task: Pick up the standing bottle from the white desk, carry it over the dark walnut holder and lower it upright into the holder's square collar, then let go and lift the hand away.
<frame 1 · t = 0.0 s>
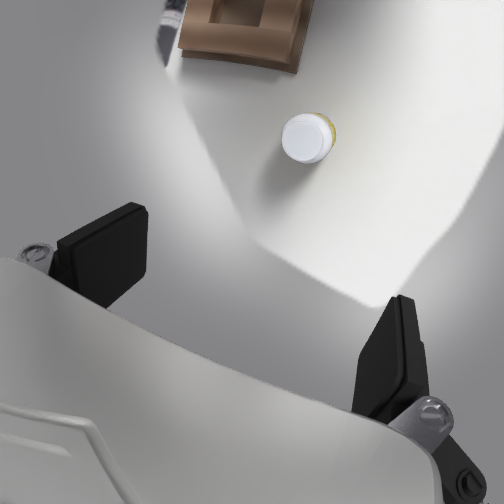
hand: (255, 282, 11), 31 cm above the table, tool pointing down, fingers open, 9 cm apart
bottle holder: (249, 9, 32), on the table
supplement bottle: (315, 133, 37), on the table
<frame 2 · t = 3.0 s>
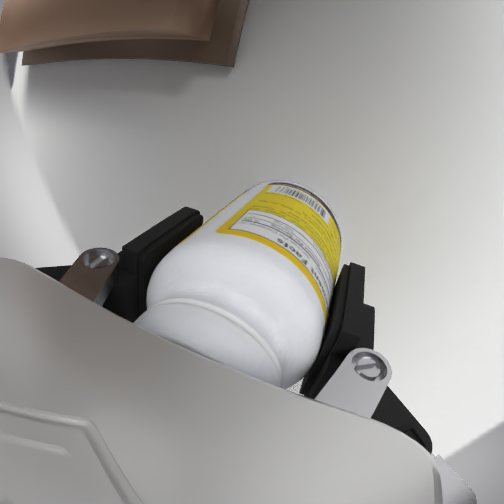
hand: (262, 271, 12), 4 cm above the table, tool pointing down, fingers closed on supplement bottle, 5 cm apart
supplement bottle: (286, 234, 15), on the table, touching gripper
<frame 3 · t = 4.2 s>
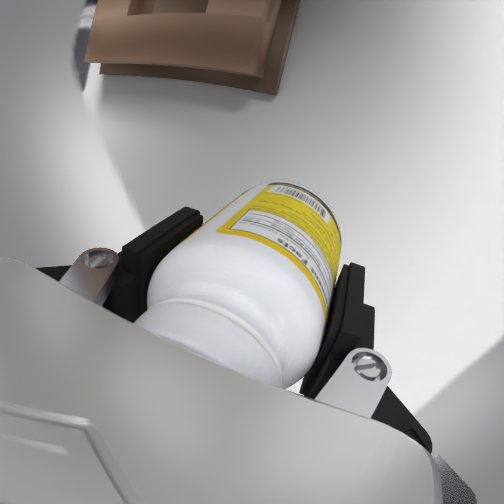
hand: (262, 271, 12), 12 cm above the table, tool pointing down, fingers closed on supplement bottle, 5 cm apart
supplement bottle: (286, 234, 15), point 8 cm above the table, touching gripper
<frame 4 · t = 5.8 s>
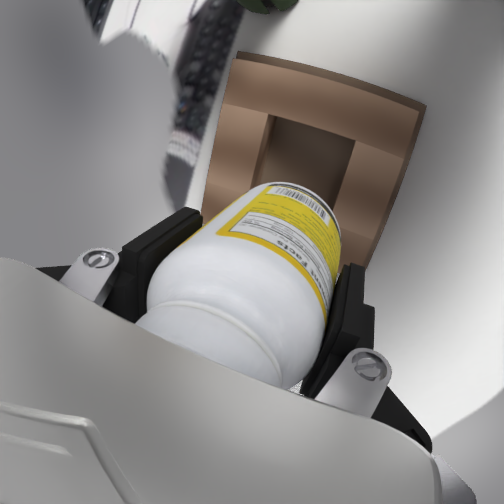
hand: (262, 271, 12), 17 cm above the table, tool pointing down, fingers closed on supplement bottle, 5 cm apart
bottle holder: (307, 161, 26), on the table
supplement bottle: (286, 235, 15), point 13 cm above the table, touching gripper
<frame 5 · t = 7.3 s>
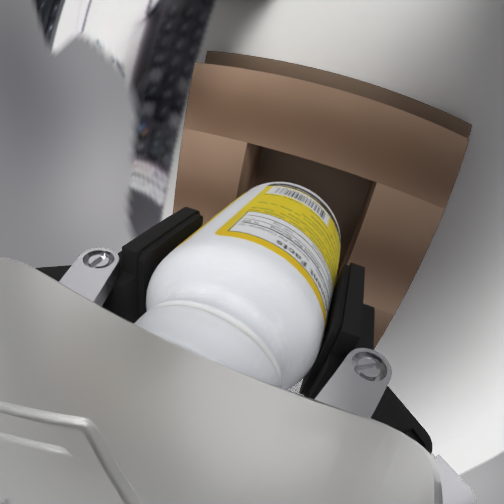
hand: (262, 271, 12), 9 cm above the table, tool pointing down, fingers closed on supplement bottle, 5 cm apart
bottle holder: (307, 201, 20), on the table
supplement bottle: (285, 235, 15), point 5 cm above the table, touching gripper
when the fingers open (5 cm above the table, at t = 8.6 s): supplement bottle drops 1 cm, resting on bottle holder.
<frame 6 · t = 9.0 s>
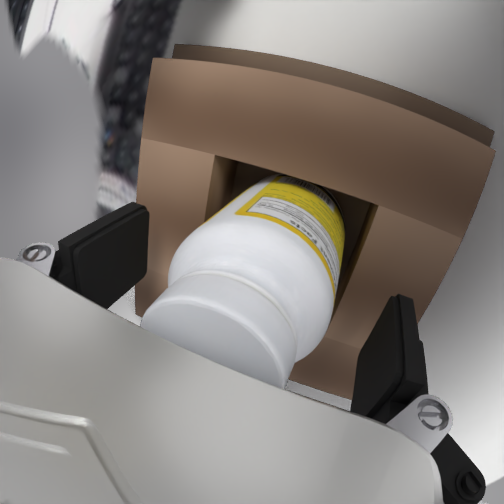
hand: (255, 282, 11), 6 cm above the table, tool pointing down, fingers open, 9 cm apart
bottle holder: (293, 221, 17), on the table
supplement bottle: (293, 223, 16), point 1 cm above the table, touching bottle holder
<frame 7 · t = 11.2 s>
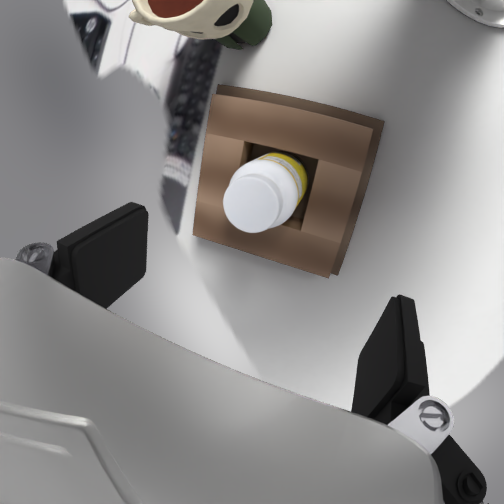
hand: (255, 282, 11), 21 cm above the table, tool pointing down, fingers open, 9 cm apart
bottle holder: (282, 177, 31), on the table
supplement bottle: (282, 177, 30), point 1 cm above the table, touching bottle holder
character mug: (243, 23, 25), on the table
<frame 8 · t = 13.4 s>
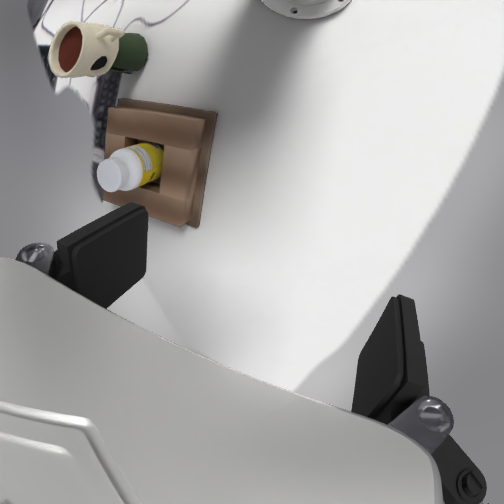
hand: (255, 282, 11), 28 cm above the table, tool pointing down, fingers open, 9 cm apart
bottle holder: (157, 159, 43), on the table
supplement bottle: (155, 158, 42), point 1 cm above the table, touching bottle holder
character mug: (134, 53, 37), on the table
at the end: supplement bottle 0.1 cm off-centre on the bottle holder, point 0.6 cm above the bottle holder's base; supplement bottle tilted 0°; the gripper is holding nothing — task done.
